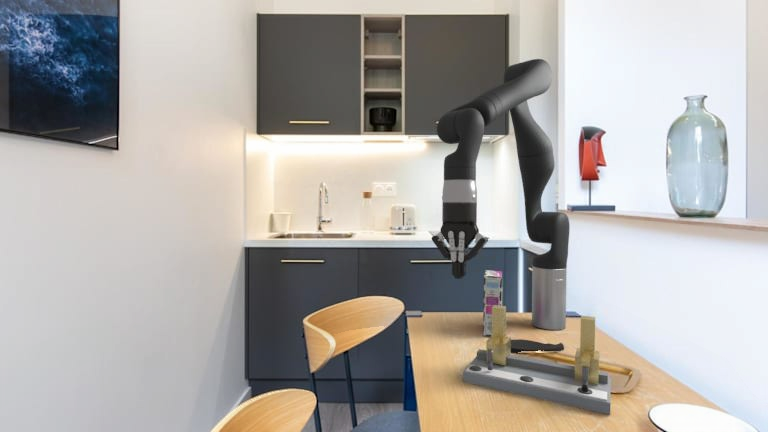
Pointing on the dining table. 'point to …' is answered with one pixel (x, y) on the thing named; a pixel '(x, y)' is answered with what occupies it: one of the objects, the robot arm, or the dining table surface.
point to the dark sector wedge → (533, 346)
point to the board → (540, 381)
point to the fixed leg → (587, 355)
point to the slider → (498, 339)
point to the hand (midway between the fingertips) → (458, 278)
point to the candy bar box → (491, 298)
